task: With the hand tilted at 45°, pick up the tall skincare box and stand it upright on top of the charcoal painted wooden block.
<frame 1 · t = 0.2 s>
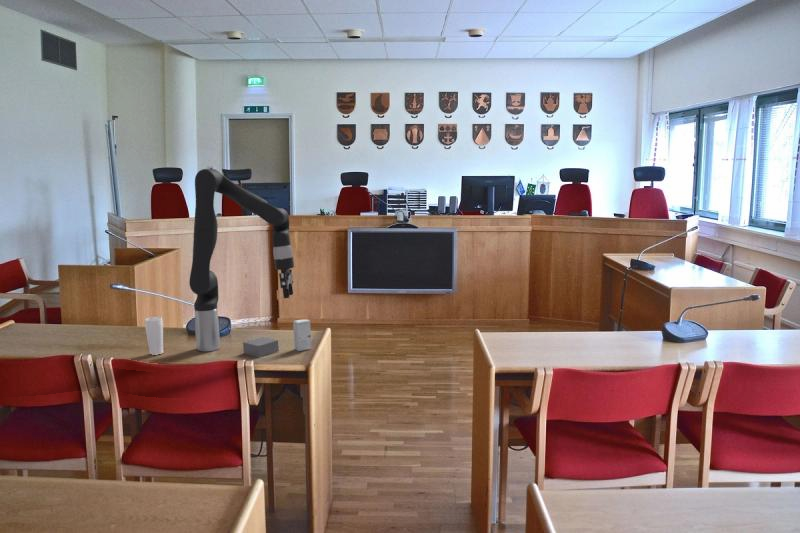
hand: (288, 296, 266), 23 cm above the table, tool pointing down, fingers open, 8 cm apart
charcoal block: (261, 353, 268), on the table
drinking glass: (156, 354, 270), on the table
skincare box: (303, 349, 271), on the table
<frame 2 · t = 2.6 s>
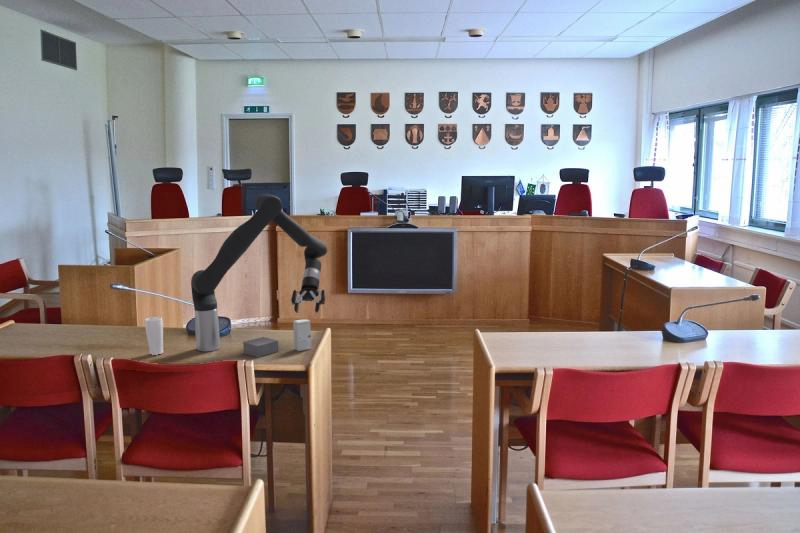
hand: (306, 311, 278), 14 cm above the table, tool tilted 45°, fingers open, 8 cm apart
nothing on the table moved.
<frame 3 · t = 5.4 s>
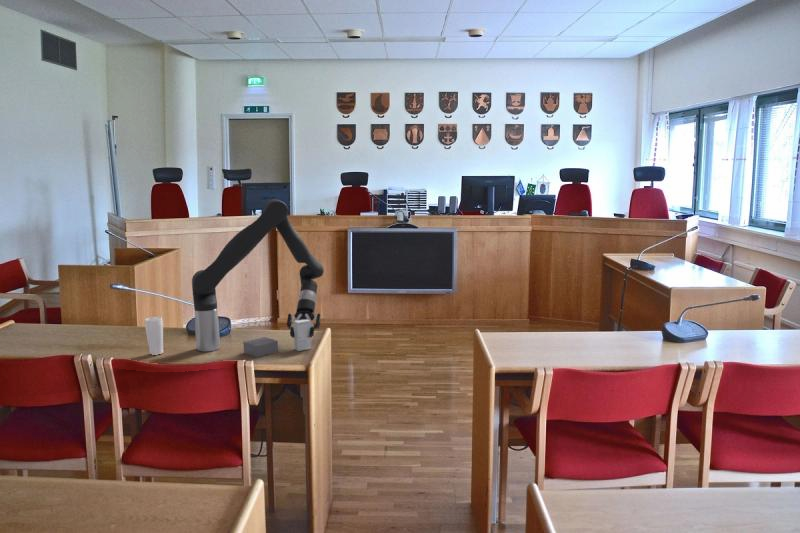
hand: (301, 336, 269), 6 cm above the table, tool tilted 45°, fingers closed on skincare box, 7 cm apart
skincare box: (303, 349, 271), on the table, touching gripper
everything else where it was.
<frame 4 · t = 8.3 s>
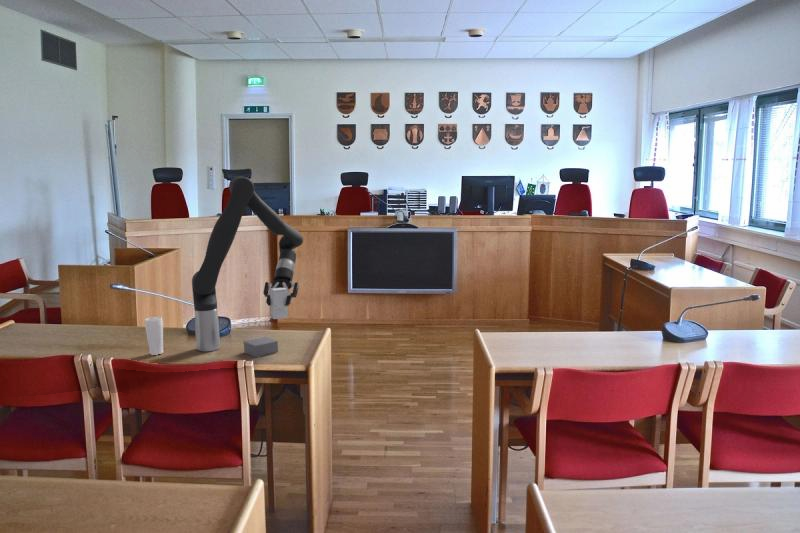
hand: (277, 304, 265), 20 cm above the table, tool tilted 45°, fingers closed on skincare box, 7 cm apart
skincare box: (279, 318, 267), point 14 cm above the table, touching gripper
everything else where it was.
when the fingers open (12 cm above the table, at t = 11.5 s): skincare box drops 2 cm, resting on charcoal block.
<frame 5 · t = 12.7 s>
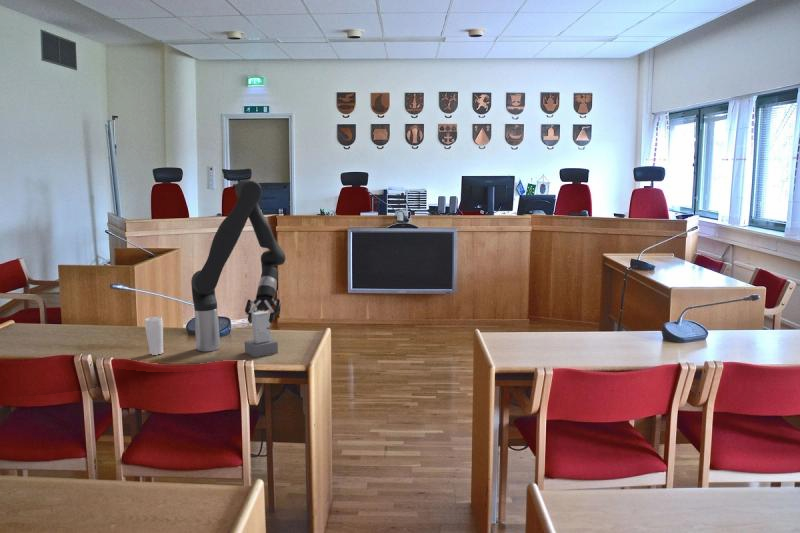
hand: (260, 322, 267), 12 cm above the table, tool tilted 45°, fingers open, 8 cm apart
charcoal block: (261, 353, 268), on the table, touching skincare box
skincare box: (262, 341, 267), point 4 cm above the table, touching charcoal block, gripper
everything else where it was.
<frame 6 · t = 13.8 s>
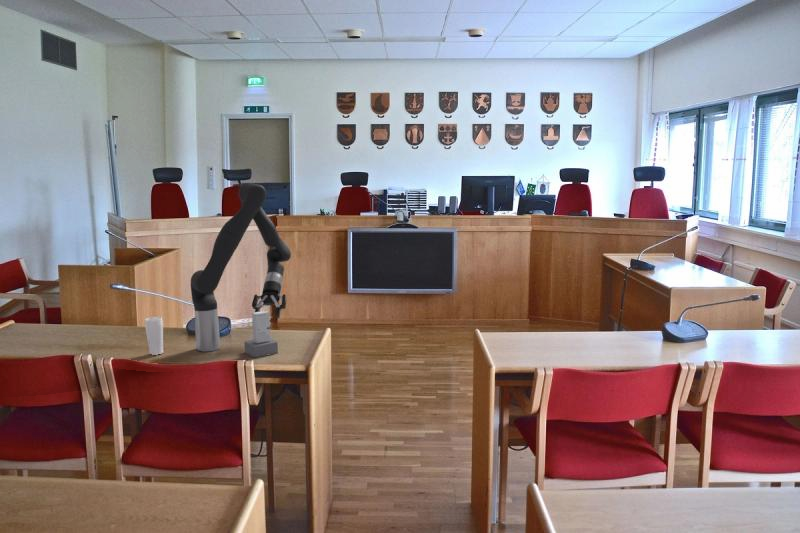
hand: (266, 316, 276), 13 cm above the table, tool tilted 45°, fingers open, 8 cm apart
skincare box: (262, 341, 267), point 4 cm above the table, touching charcoal block
everything else where it was.
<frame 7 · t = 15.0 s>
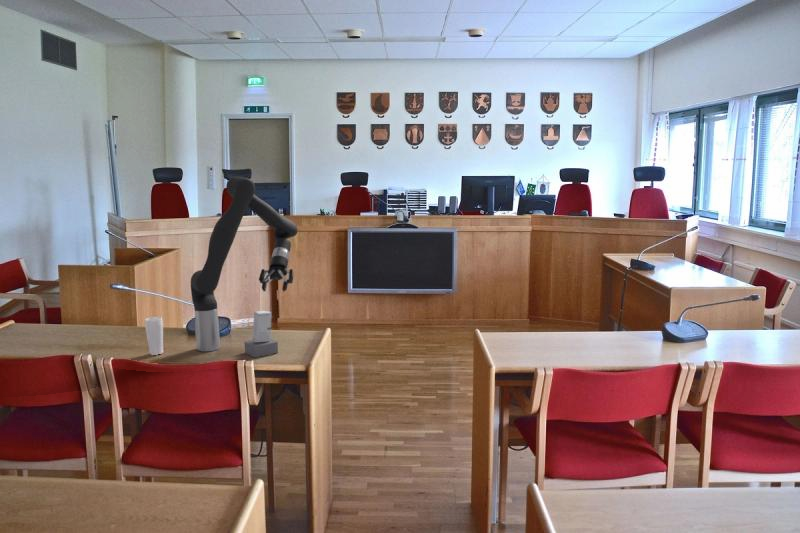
hand: (273, 290, 277), 23 cm above the table, tool tilted 45°, fingers open, 8 cm apart
charcoal block: (261, 353, 267), on the table
skincare box: (261, 341, 267), point 5 cm above the table
everything else where it was.
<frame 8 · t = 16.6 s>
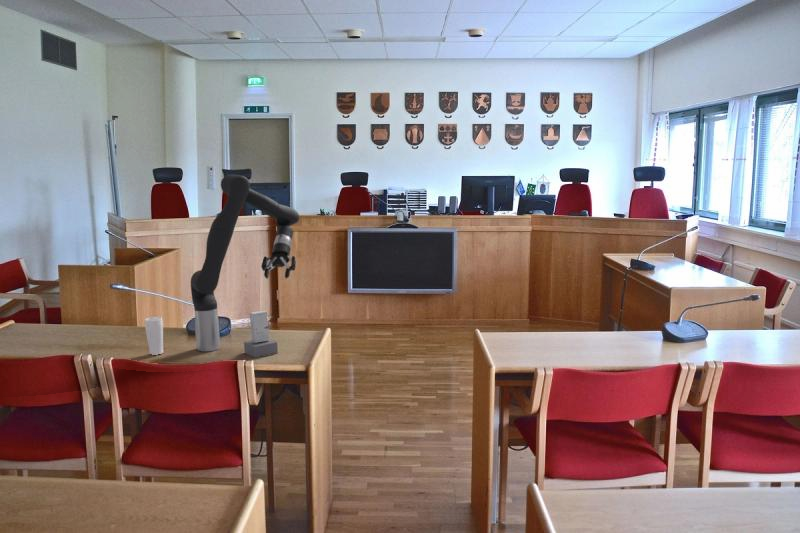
hand: (276, 277, 277), 29 cm above the table, tool tilted 45°, fingers open, 8 cm apart
charcoal block: (261, 353, 267), on the table, touching skincare box
skincare box: (261, 341, 267), point 5 cm above the table, touching charcoal block
everything else where it was.
at the end: skincare box inside the target area on the charcoal block (0.8 cm from its centre), point 4.9 cm above the charcoal block's base; skincare box tilted 2°; the gripper is holding nothing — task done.
